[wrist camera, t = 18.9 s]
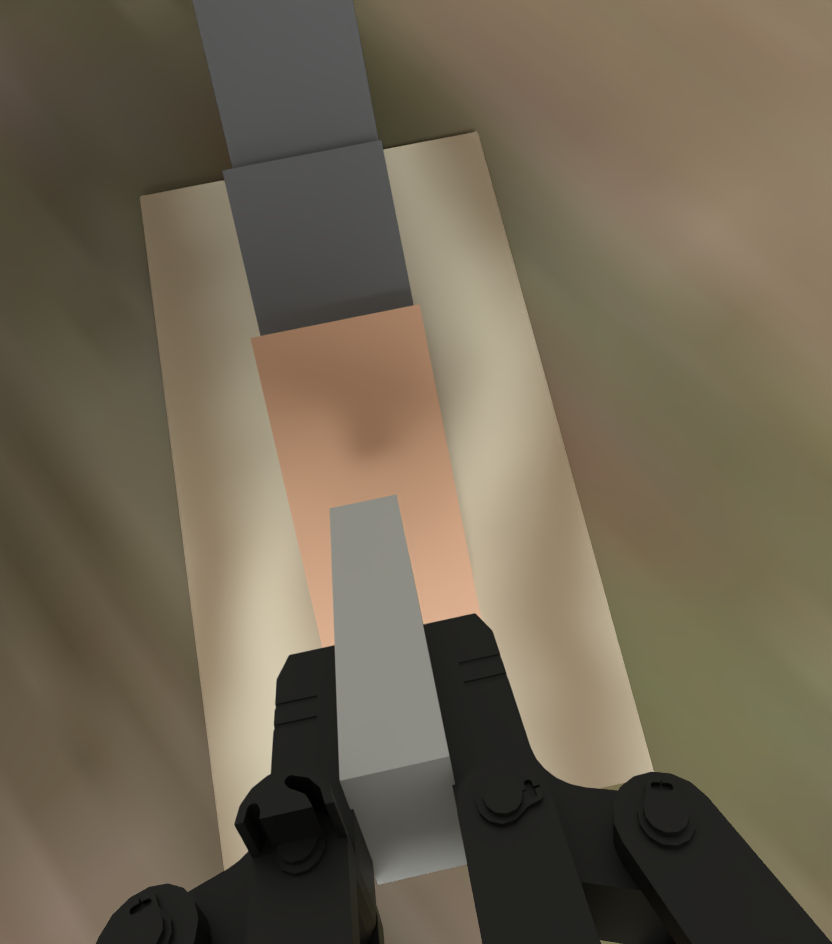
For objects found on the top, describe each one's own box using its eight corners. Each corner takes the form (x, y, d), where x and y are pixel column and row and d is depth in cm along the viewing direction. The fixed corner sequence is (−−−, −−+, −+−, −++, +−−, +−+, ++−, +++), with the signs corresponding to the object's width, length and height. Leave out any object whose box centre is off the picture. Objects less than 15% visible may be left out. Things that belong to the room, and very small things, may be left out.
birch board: (230, 866, 21) (224, 873, 20) (146, 205, 27) (139, 196, 26) (648, 771, 22) (654, 775, 21) (476, 141, 27) (477, 131, 27)
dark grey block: (443, 453, 22) (381, 139, 20) (295, 484, 22) (221, 170, 20) (437, 448, 24) (381, 161, 22) (301, 476, 23) (236, 189, 22)
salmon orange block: (483, 626, 20) (419, 304, 19) (325, 660, 20) (250, 338, 19) (473, 605, 22) (415, 312, 21) (329, 636, 22) (262, 343, 21)
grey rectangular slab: (403, 277, 23) (344, -47, 21) (265, 303, 23) (187, -20, 20) (400, 279, 25) (345, -17, 23) (272, 304, 25) (202, 9, 22)
